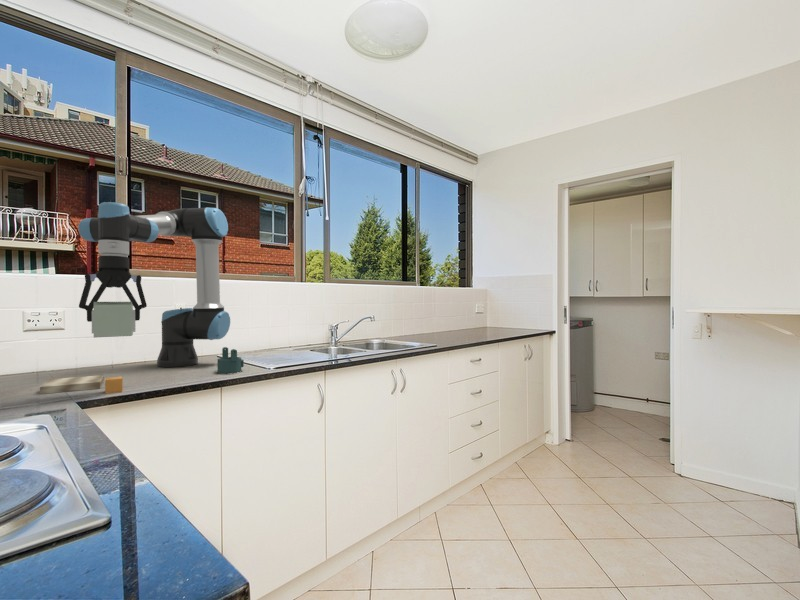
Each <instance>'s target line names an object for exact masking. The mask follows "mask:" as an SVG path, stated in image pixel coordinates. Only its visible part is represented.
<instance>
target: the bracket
mask: <svg viewBox="0 0 800 600" xmlns="http://www.w3.org/2000/svg"><path fill="white" fill-rule="evenodd" d="M221 350H222V353H221V356H222V357H219V358H217V374H219V373H220V374H222V375H229V374H228V373H232V374H238V373H237V372H239V373H241V372H242V368H244V365H245V363H244V362H245V361H244V359H242V357H241V356H238V350H237V349H234V348H233V349H231V350H230V356H229V347H226V346H223V347H222V349H221ZM240 371H241V372H240Z"/></svg>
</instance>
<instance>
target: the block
mask: <svg viewBox="0 0 800 600" xmlns="http://www.w3.org/2000/svg"><path fill="white" fill-rule="evenodd" d="M123 378H124V377H123V376H112V377H111V376H110V377H106V378H105V379H104V388H105V390H104V391H105V392H104V393H105V394H116V393H117V394H118V393H122V392H123V390H124V379H123Z"/></svg>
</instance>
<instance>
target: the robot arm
mask: <svg viewBox="0 0 800 600" xmlns="http://www.w3.org/2000/svg"><path fill="white" fill-rule="evenodd" d="M227 220H228V219H227V217H226V216H225V213H224V212H223V211H222V210H221V209H219V208H217V207H191V208H190V207H189V208H188V207H185V208H182V207H181V208H177V209H172V210H165V211H159V212H157V213H155V214H147V215H146V214H142V215H132V214H131V213H130V207H129V205H126V204H125V203H121V202H114V201H113V202H112V201H108V202H107V201H105V202H101V203H99V205H98V213H97V217H90V218H88V217H85V218H84V219H83V218H82V219H81V220H80V222H79V223H78V226H77V227H78V234H79V236H80V237H81V238H82V239H83V240H84V241H87V242H96V243H97V245H98V248H97V249H98V251H97V253H98V254H99V256H98V258H97V259H98V260H97V262H98V263H97V265H98V271H97V272H96V273H92V274H89V273H86V274H85V275H84V280H85V283H84V287H83V291H82V294H81V297H80V300H79V302H78V308H80V309H83V310H85V311H86V322H89V323H90V322H91V334H94V302H99V299H100V298H101V296H102V295H103V293H104V292H105V290H106V289H107V288H110V289H111V288H118V289H121V288H122V289H123V292H124V293H125V295H126V296H127V297H128V299H129V302H132V304H133V310H132V332H133V333H135V332H136V322H137V321H140V318H141V310H142V309H145V308H147V305H148V304H147V301H146V298H145V294H144V291H143V287H142V276H141V275H140V274H139V275H137V274H136V275H135V274H131V272H130V258H129V257H128V256H130V242H140V243H152V242H154V241H155V240H156V239H157V238H158V237H159V236H162V237H171V236H172V237H183V238H185V237H187V238H191V239H190V240H191V242H192V243H194V245H195V268H196V269H195V271H196V272H195V273H196V275H195V276H196V304H195V305H194V306H193V308H192V307H189V308H188V307H187V308H175V309H169V310H165V311H163V312H162V315H161V349H160V352H159V354H158V357H157V360H156V366H157V367H160V368H176V367H177V368H180V367H188V366H194V365H197V364H199V357H198V354H197V352H196V348H195V345H194V340H209V341H213V340H221V339H223V338H225V336H227V334H228V332H229V330H230V326H231V316H230V314H229V312H227V311H225V306H223V304H222V303H221V295H220V292H221V291H220V289H221V285H220V251H219V250H220V249H219V248H220V247H219V246H220V244H222V243H223V237H226V236H227V235H228V232H229V224H228V221H227ZM95 279H98V281H99V282H100V285H99V287H98V289H97V291H96V292H95V293H94V295H93V297H92V299H91V300H90V302H89V304H88V305H87V301H88V297H89V295H90V292H91V287H92V283H93V282H94V281H95ZM131 279H132V282H134V283H135V285H136V289H137V292H138V296H139V301H140V304H138V302H137V300H136V298H135V296H134V295H133V294H132V291H131V290H130V289H129V287H128V285H127V283H128V282H129V281H130V280H131Z"/></svg>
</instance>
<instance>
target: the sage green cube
mask: <svg viewBox="0 0 800 600" xmlns="http://www.w3.org/2000/svg"><path fill="white" fill-rule="evenodd" d="M93 310H94V333H93V338H116V337H117V338H119V337H132V336H133V334H134V332H132V310H134V306H133V304H132V302H131V301H97V302H94V308H93Z"/></svg>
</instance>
